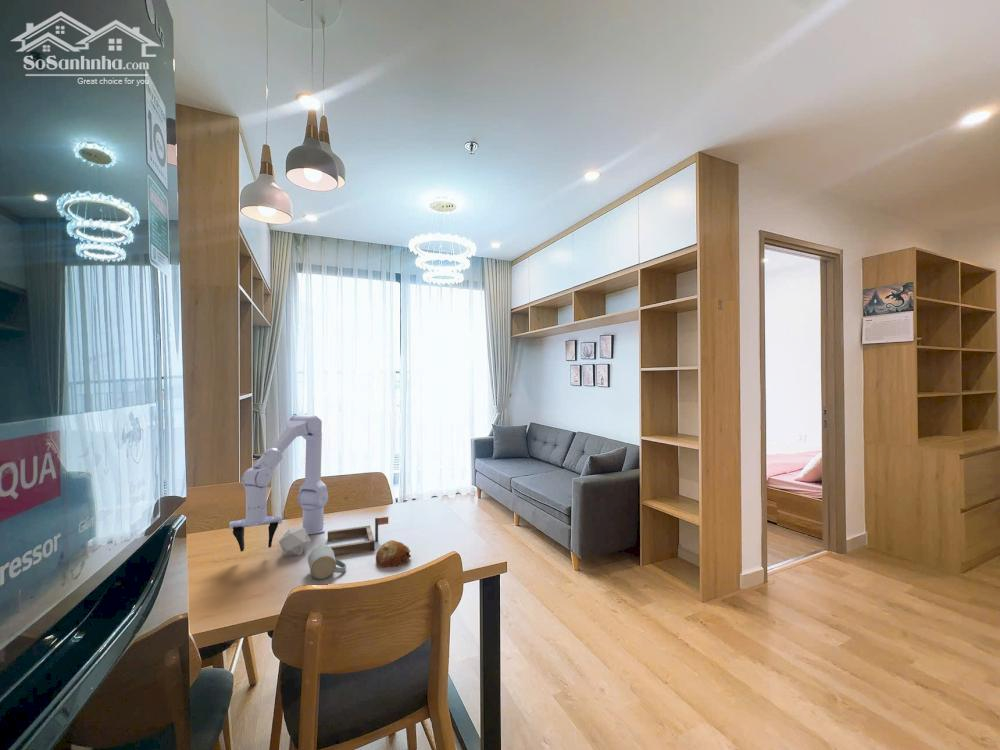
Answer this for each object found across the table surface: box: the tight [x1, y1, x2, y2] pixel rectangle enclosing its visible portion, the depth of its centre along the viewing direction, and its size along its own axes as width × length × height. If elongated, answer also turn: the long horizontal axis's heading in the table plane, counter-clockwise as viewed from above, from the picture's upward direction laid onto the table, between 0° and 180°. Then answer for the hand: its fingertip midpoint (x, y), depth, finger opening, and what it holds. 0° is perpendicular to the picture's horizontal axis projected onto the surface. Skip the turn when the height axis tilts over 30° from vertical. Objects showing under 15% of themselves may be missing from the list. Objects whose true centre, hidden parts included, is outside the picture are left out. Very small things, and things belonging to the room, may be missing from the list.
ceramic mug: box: [307, 544, 347, 580], centre depth 124 cm, size 10×8×7 cm
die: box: [278, 527, 311, 556], centre depth 137 cm, size 8×9×10 cm
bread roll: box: [375, 539, 412, 569], centre depth 132 cm, size 10×10×8 cm
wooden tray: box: [327, 516, 389, 558], centre depth 145 cm, size 16×20×8 cm
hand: (256, 548), depth 133 cm, fingers open, 7 cm apart
